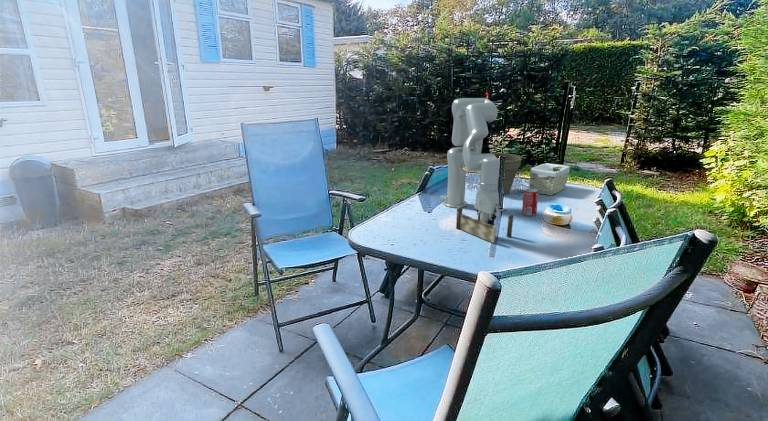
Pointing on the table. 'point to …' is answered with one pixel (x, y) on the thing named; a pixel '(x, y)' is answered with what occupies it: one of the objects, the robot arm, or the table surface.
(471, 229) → the gate
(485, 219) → the energy drink
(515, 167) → the plant pot
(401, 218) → the table surface
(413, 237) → the table surface
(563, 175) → the storage basket
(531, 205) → the soda can
